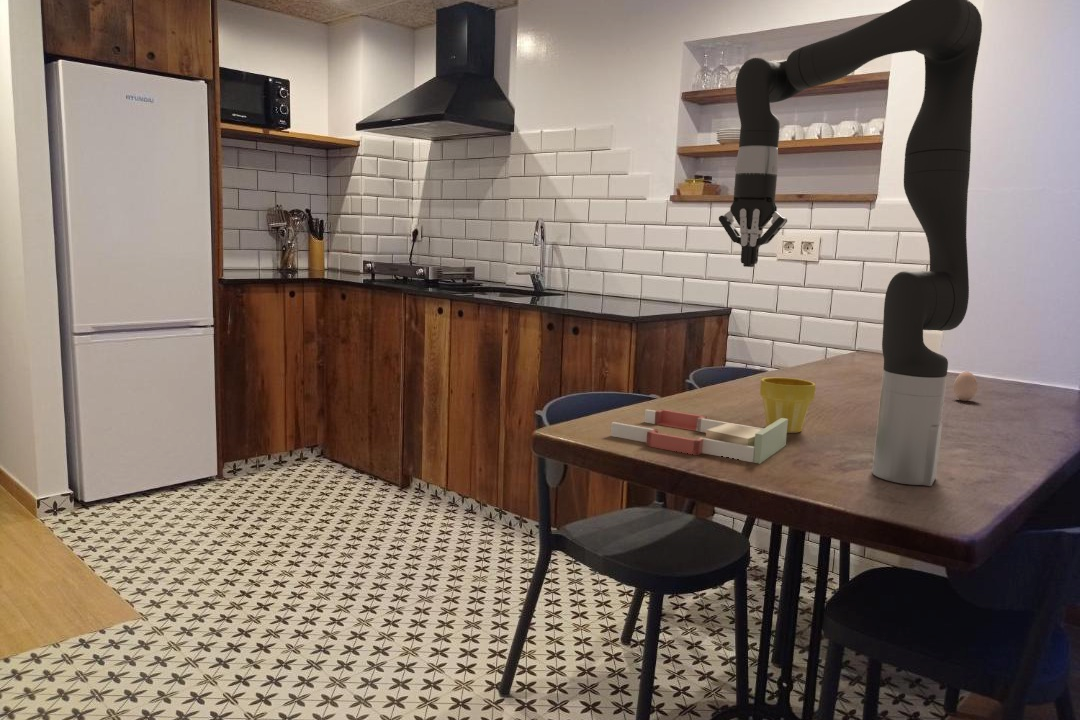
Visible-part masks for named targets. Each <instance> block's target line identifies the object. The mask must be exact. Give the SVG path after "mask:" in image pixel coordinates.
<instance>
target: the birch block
mask: <svg viewBox="0 0 1080 720" xmlns="http://www.w3.org/2000/svg"><path fill="white" fill-rule="evenodd" d="M731 423H732V422H727V424H723V425H720V426H717V427H714V428H710V429H707V430H706V433H705V438H707V439H713V440H718V441H724V442H730V443H735V444H741V445H747V446H752V447H754V444H755V433H757V432H759V431H760V429H755V428H750V427H745V426H740V425H741V424H740V425H735V424H736V423H733V424H731Z"/></svg>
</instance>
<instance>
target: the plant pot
mask: <svg viewBox="0 0 1080 720" xmlns="http://www.w3.org/2000/svg"><path fill="white" fill-rule="evenodd" d="M759 387H760V388H759V395H760V397H762V400H763V402H762V403H763V409H764V415H765V416H764V417H765V423H766V427H767V426H769V425H770V424H772V423H774V422H775V421H777V420H779V419H780V418H785V419H788V425H787V434H794V433H795V434H796V433H800V432H802V430H803V427H804V424H805V420H806V417H807V414H808V411H809V407H810V403H811V402H813V401H814V399H815V394H816V383H814V382H812V381H811V380H805V379H800V378H792V377H782V376H781V377H775V376H774V377H773V376H771V377H763V378H761V379H760V386H759Z"/></svg>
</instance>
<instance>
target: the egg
mask: <svg viewBox="0 0 1080 720" xmlns="http://www.w3.org/2000/svg"><path fill="white" fill-rule="evenodd" d="M978 386H979V385H978V381H977V378H976V376H975V375H974V374H973V373H972V372H970V371H963V372H961V373H960V374H959V375H957V377H956V379H955V380H954V383H953V387H952V388H953V392H954V395H955V396H956V398H957V399H958V400H960V401H962V402H968V401H970V400H972V399H973V398H974V397H975V396H976V394H977V393H978V388H979V387H978Z"/></svg>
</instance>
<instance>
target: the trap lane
mask: <svg viewBox="0 0 1080 720" xmlns="http://www.w3.org/2000/svg"><path fill="white" fill-rule="evenodd" d="M644 423H648V424H653V425H658V426H666V427H670V428H676V429H682V430H686V431H688V430H689V431H693V432H700V433H705V434H706V430H707V429H710V428H714V427H717V426H720V425H723V424H727V423H728V422H727V421H721V420H714V419H708V418H707V416H705V415H699V414H695V413H694V414H692V413H687V412H680V411H675V410H668V409H663V408H662V409H661V408H660V409H658V410H653V409H647V408H646V409H645V410H644ZM730 423H731V424H735V425H740V426H745V427H750V428H755V429H760V431H759V432H757V433H755V444H754V447H752V446H747V445H741V444H735V443H730V442H724V441H718V440H713V439H707V438H706V437H701V436H700V437H699V438H697V439H694V438H689V437H688V438H687V437H682V436H677V435H672V434H665V433H660V432H659V429H655V428H649V427H644V426H638V425H633V424H626V423H622V422H616V421H612V422H611V424H610V425H611V426H610V427H611V429H610V437H615V438H621V439H625V440H630V441H635V442H642V443H646V447H650V448H657V449H661V450H667V451H673V452H676V451H677V453H681V452H682V454H687V453H688V455H692V454H693V456H697V455H698V456H699V455H701V454H705V455H710V456H711V455H712V456H715V457H716V456H717V457H721V456H723V457H722V458H726V457H729V458H728V459H732V458H734V459H733V460H737V459H739V460H738V461H742V462H743V461H744V462H749V463H755V464H759V465H760V464H762V463H763V462H765V461H766V460H767V459H769V458H770V457H772V456H773V455H774V454H776V453H777V452H779V451H780V450H782V449H783V448H784V447H786V443H787V434H788V433H787V425H788V419H785V418H780V419H779V420H777V421H775V422H774V423H772V424H770V425H769V426H767V425H766V427H764V428H763V427H758V426H751V425H746V424H740V423H739V424H738V423H732V422H730Z"/></svg>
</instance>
